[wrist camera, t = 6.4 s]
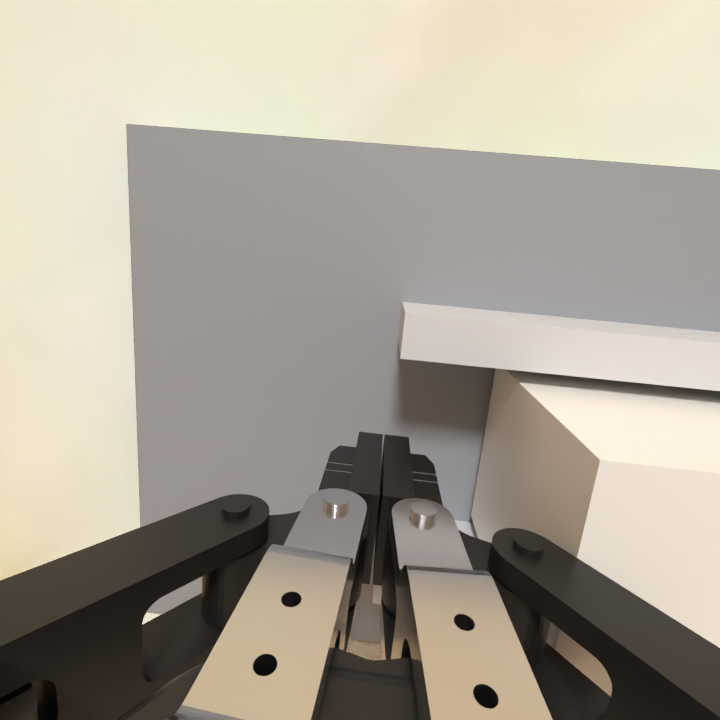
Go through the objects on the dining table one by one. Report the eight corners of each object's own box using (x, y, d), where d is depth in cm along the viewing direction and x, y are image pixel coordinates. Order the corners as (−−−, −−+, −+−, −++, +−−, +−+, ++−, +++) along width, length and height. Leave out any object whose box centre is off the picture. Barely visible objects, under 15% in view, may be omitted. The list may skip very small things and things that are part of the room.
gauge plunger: (455, 605, 16) (504, 862, 9) (496, 361, 14) (600, 460, 7) (676, 633, 16) (899, 924, 9) (754, 387, 13) (1131, 518, 7)
